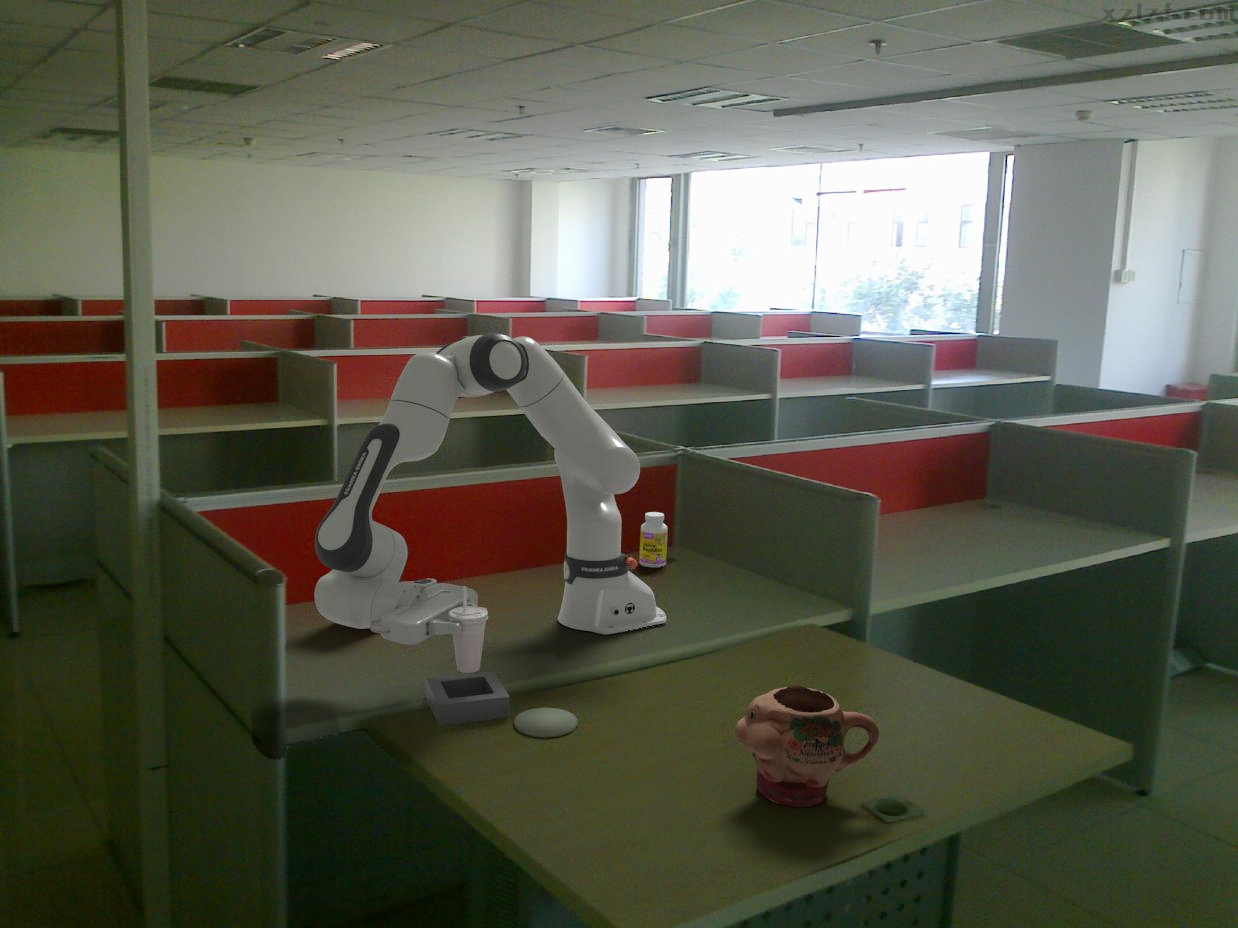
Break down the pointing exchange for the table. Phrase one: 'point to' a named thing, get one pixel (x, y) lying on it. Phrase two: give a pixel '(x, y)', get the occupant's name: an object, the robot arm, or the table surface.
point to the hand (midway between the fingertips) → (473, 621)
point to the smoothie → (469, 635)
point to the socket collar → (467, 698)
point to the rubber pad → (545, 722)
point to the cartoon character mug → (800, 742)
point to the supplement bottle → (653, 541)
